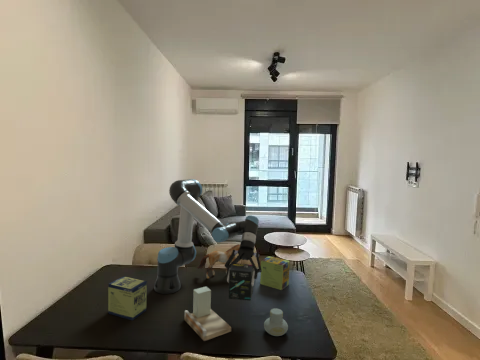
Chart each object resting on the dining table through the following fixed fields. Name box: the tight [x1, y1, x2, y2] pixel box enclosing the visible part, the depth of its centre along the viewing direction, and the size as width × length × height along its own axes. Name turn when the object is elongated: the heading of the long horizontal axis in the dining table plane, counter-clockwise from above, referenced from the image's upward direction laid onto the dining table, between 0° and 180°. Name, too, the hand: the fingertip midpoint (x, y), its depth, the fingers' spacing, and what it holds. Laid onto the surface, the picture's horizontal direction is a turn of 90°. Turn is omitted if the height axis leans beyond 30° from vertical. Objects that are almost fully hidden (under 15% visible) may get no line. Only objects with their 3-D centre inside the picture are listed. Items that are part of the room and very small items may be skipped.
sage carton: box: [192, 286, 212, 318], centre depth 148 cm, size 5×7×12 cm
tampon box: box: [228, 263, 254, 302], centre depth 148 cm, size 11×9×15 cm
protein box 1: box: [107, 276, 148, 321], centre depth 151 cm, size 10×16×16 cm
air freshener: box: [263, 307, 289, 337], centre depth 138 cm, size 11×8×10 cm
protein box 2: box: [259, 256, 291, 291], centre depth 189 cm, size 10×15×16 cm
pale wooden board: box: [184, 309, 232, 342], centre depth 142 cm, size 20×14×4 cm
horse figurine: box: [196, 244, 240, 279], centre depth 199 cm, size 31×8×21 cm, turn 102°
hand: (240, 283), depth 145 cm, fingers closed on tampon box, 11 cm apart
